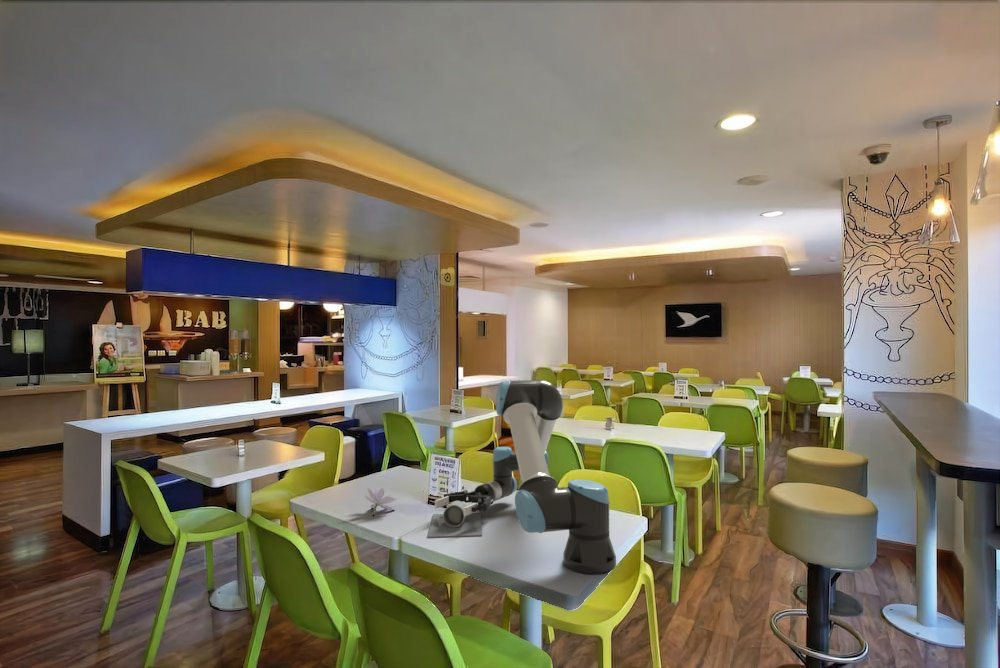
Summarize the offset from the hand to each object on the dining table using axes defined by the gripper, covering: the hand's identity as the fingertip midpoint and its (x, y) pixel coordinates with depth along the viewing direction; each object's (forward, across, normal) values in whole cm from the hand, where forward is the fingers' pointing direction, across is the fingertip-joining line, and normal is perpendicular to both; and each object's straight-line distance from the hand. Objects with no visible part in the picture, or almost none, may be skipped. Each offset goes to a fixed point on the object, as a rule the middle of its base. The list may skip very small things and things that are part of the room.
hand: (449, 508), depth 177 cm
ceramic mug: (-3, +1, -7) cm, 7 cm away
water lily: (+3, +33, -7) cm, 34 cm away
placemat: (-3, 0, -7) cm, 8 cm away
